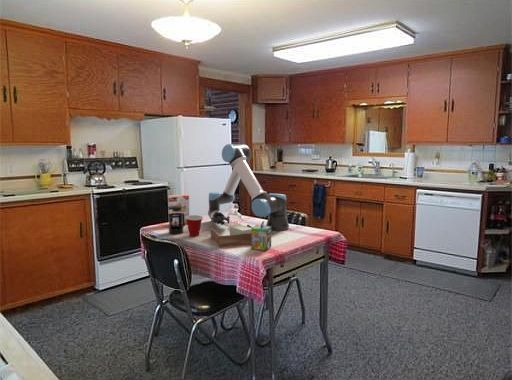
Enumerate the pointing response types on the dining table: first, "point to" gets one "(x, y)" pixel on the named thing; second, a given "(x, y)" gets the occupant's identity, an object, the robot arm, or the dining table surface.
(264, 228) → the chalk box
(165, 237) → the dining table surface
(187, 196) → the cracker box
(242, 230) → the tile block
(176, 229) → the french press
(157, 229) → the dining table surface
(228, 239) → the box
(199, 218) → the plastic cup
